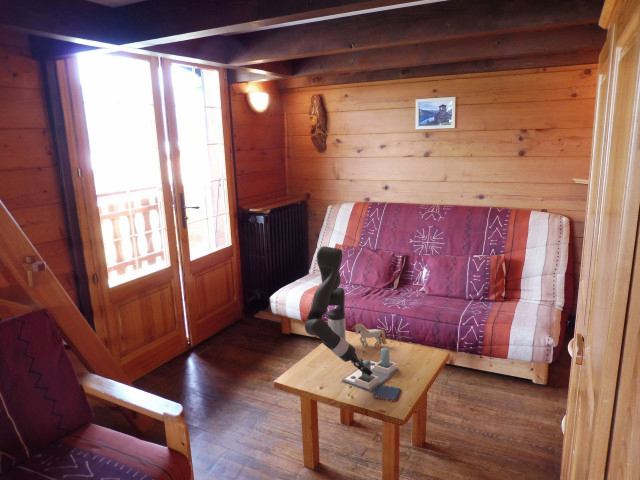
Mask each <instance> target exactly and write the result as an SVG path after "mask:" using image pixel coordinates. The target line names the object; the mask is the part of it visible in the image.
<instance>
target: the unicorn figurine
mask: <svg viewBox="0 0 640 480" xmlns="http://www.w3.org/2000/svg"><path fill="white" fill-rule="evenodd" d="M352 329H353V330H355V335H359V334H360V337H359V341H360V343H361V345H363V347H362V348H364V349H366V348H368V347H369V345H368V344H369V343H367V338H368V339H372V338H374V339H375V340H376V342H375V343H374V349H377V348H378V347H380V346H381V345H384V346H385V345H388V342H387V337H386V331H385V330H384V329H377V328H375V329H368V328H367V327H366V326H365V325H363V324H362V323H357V324H355V325H354V327H352Z"/></svg>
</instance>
